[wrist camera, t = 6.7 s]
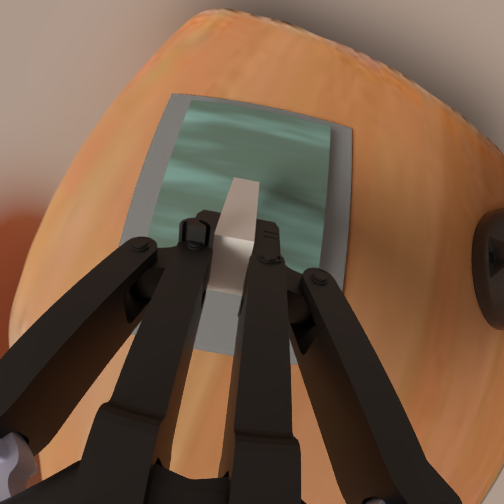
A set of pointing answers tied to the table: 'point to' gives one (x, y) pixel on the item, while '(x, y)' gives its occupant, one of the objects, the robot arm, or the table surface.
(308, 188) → the plaque
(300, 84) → the table surface
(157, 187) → the mat
